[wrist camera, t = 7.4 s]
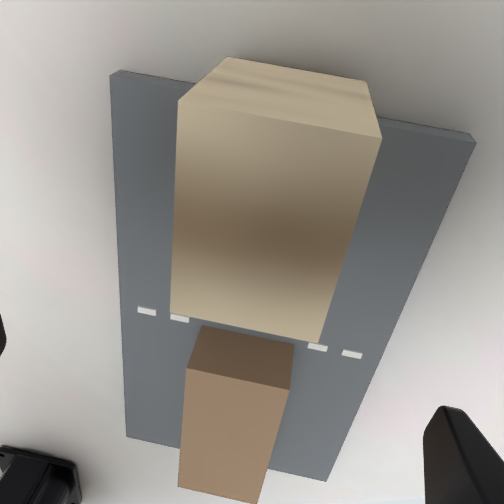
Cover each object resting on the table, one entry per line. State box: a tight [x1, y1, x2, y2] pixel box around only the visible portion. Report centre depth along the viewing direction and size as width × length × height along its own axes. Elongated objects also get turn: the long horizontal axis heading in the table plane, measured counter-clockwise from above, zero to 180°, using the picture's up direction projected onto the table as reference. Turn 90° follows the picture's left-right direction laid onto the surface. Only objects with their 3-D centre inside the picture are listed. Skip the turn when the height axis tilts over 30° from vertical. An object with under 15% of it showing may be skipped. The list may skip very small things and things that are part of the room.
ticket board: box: [110, 70, 476, 504], centre depth 22 cm, size 24×14×4 cm, turn 172°
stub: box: [170, 57, 382, 344], centre depth 15 cm, size 7×5×6 cm
